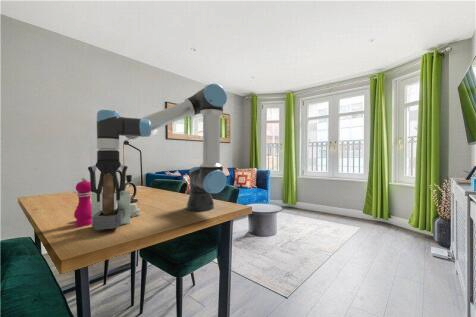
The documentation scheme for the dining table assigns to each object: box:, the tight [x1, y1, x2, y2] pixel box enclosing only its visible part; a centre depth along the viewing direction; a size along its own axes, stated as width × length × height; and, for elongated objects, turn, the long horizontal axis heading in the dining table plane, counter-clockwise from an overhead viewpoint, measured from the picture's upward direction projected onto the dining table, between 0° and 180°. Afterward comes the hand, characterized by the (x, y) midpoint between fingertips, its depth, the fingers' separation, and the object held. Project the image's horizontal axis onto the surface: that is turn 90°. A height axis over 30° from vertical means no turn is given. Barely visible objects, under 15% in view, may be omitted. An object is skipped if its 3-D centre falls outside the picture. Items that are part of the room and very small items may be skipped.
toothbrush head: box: [130, 203, 141, 218], centre depth 100 cm, size 5×7×25 cm
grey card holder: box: [90, 190, 131, 231], centre depth 85 cm, size 14×12×14 cm
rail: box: [102, 173, 116, 216], centre depth 84 cm, size 4×4×18 cm
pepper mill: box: [73, 176, 93, 227], centre depth 91 cm, size 7×7×20 cm
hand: (108, 209), depth 84 cm, fingers closed on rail, 4 cm apart
